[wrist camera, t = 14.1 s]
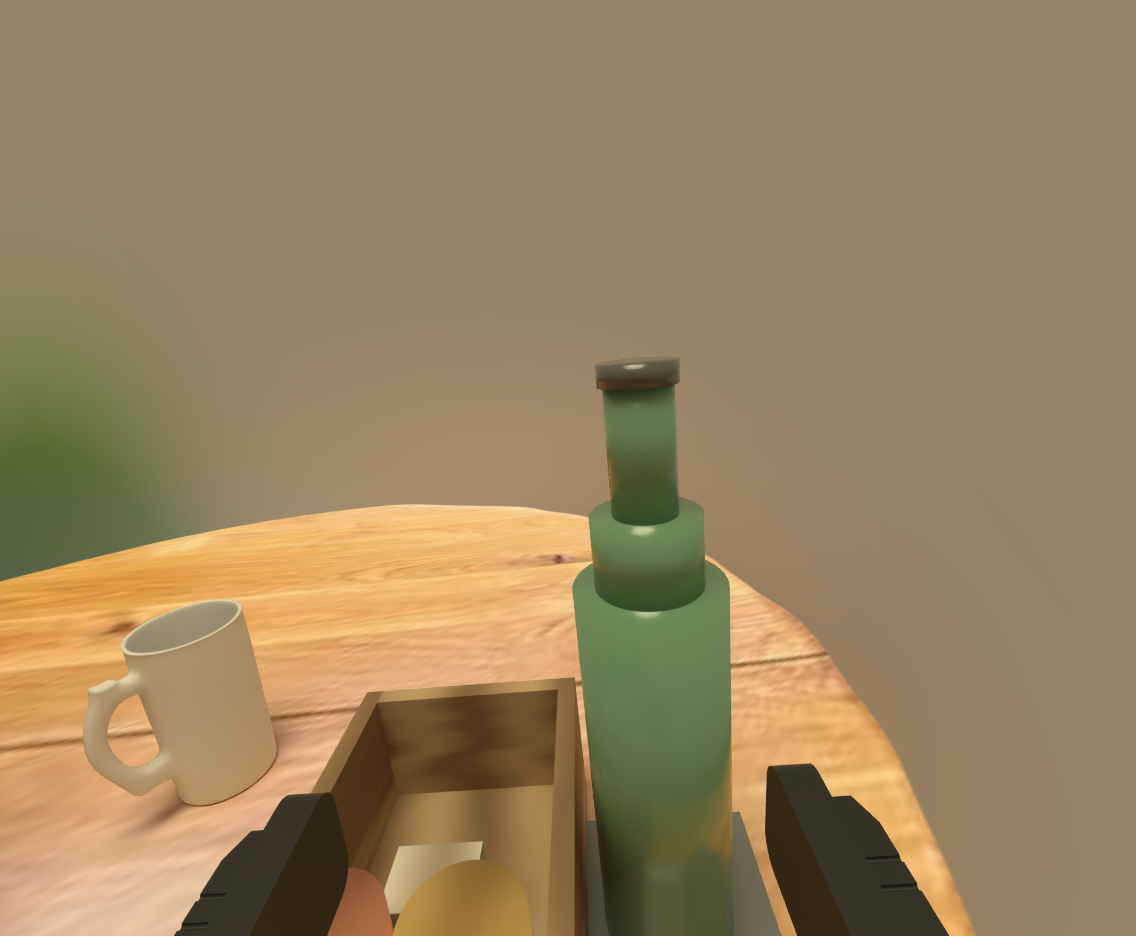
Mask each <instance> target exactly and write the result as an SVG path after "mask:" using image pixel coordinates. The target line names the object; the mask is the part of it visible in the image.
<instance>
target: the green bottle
mask: <svg viewBox="0 0 1136 936" xmlns="http://www.w3.org/2000/svg"><path fill="white" fill-rule="evenodd" d="M595 374H596V385H597V389H601V390H602V391H603V392H602V394H603V406H604V419H605V433H606V447H607V460H608V473H609V485H610V501H607V502H604V503H602V504H600V505H598V506H596V507H595V508H594V509H593V510H592V511H591V512H590V514H589V527H590V538H591V549H592V561H593V563H592V564H590V565H589V566H587V567H586V568H585V569H583V570H582V571H581V572H580V573H579V574H578V576H577V577H576V579H575V581H574V583H573V599H574V609H575V619H576V628H577V638H578V648H579V658H580V668H581V678H582V688H583V698H584V708H585V718H586V728H587V738H588V748H589V758H590V768H591V778H592V788H593V798H594V807H595V817H596V827H597V837H598V847H599V857H600V867H601V877H602V887H603V897H604V907H605V917H606V924H607V929H608V932H609V935H610V936H733V930H734V916H733V832H732V749H731V665H730V587H729V581H728V578H727V577H726V575H725V574H724V572H723V571H722V570H721V569H719V568H718V567H717V566H716V565H714V564H712V563H711V562H709V561H707V560H705V544H704V511H703V509H702V507H701V506H700V505H698V504H697V503H695V502H693V501H691V500H688V499H685V498H681V497H679V488H678V461H677V436H676V410H675V384H677V383H679V382H680V363H679V358H678V357H644V358H632V359H622V360H614V361H608V362H603V363H599V364H596V365H595Z"/></svg>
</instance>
